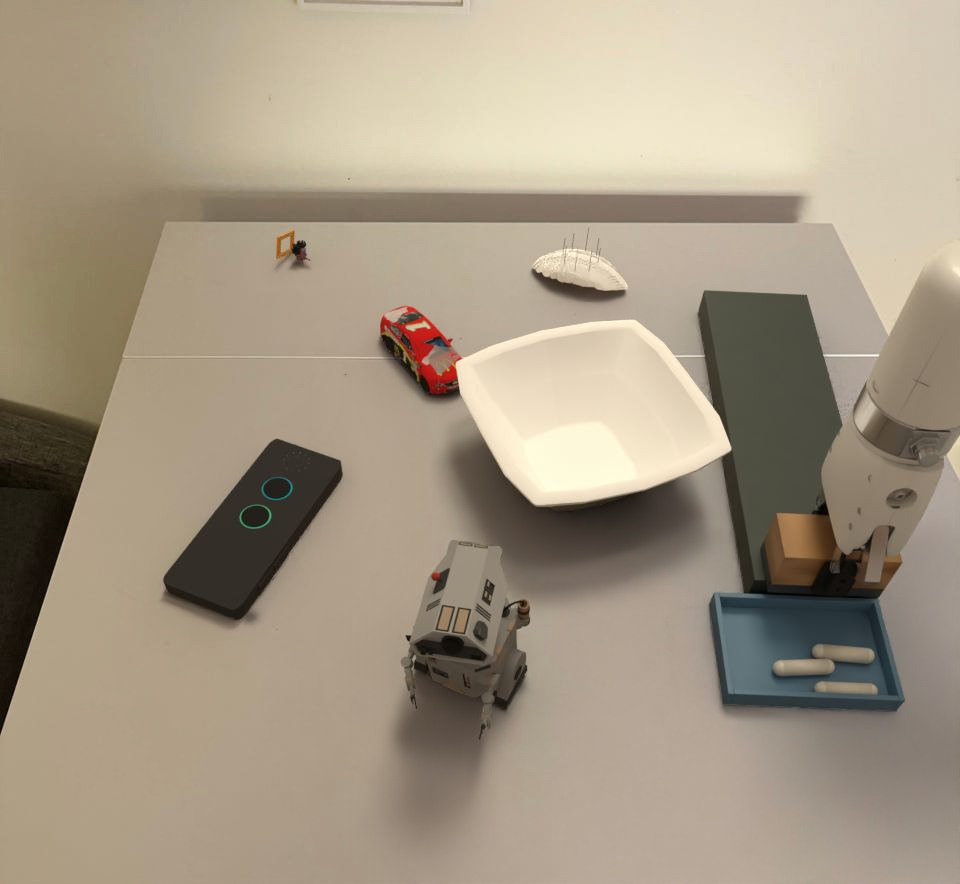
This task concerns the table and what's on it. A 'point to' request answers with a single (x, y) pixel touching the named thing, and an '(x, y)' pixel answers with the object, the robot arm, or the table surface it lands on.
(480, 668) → the figurine
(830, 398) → the board
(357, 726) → the table surface
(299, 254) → the toy figure with frame
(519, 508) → the table surface
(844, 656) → the chalk
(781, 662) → the chalk
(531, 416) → the bowl
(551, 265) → the pincushion
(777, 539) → the eraser
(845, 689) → the chalk
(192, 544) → the smart home device
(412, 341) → the race car
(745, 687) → the tray
